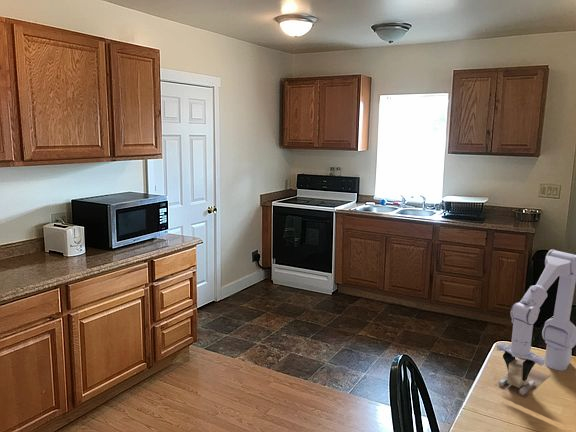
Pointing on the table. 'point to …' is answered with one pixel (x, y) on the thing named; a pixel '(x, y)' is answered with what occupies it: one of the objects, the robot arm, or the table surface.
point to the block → (516, 373)
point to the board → (531, 384)
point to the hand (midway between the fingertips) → (517, 376)
